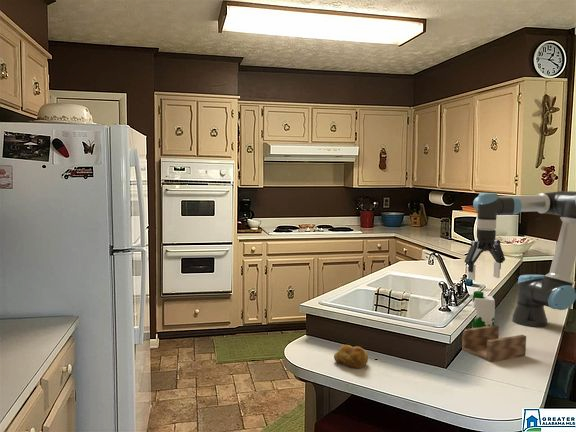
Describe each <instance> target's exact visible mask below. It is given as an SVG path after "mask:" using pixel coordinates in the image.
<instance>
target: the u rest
mask: <svg viewBox="0 0 576 432" xmlns="http://www.w3.org/2000/svg"><path fill="white" fill-rule="evenodd" d="M464 329H465V330H464V331H463V335H462V349H461V350H463V349H464V350H463V351H465V350H466V351H465V352H468V353H470V354H472V355H474V356H476V357H478V358H481V359H483V360H485V361H487V362H491V363H492V362H496V361H503V359H504V360H508V359H514V358H515V359H516V358H520V357H525V356H526V349H527V348H526V346H527V335H523V334H519V335H512V336H511V335H510V336H507V337H506V336H505V337H499V335H500V334H499V330H500V326H499V325H497V324H494V325H492V326H485V327H478V328H464Z"/></svg>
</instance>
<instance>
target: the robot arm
mask: <svg viewBox="0 0 576 432" xmlns="http://www.w3.org/2000/svg"><path fill="white" fill-rule="evenodd" d="M472 203H473V204H472V205H473V209H474V210H475V212H477V217H476V218H477V220H476V222H477V223H476V227H477V230H476V239H477V241H476V240H471V242H470V247H469V249H468V252H467V254H466V257H465V258H464V263H466V264H467V265H468V269H467V271H468V272H469V273H468V279H469V280H471V281H476V266H477V265H476V264H475V263H476V262H477V261H478V259H479V257H480V255H481V254H482V253H484V252H489V253H490V254H491V256H492V258H493V259H494V262H493V274H492V275H493V277H494V278H496V279H499V278H500V277H501V275H500V274H501V269H502V268H501V266H502V264H503V263H504V262H505V261H506V258H505V254H504V252H503V248H502V246H501V241H500V240H499V239H496V238H497V237H496V235H497V234H496V233H497V231H496V229H497V217H498V216H513V215H514V216H515V215H518V214H520V213H522V212H523V213H526V212H527V213H528V212H537V213H538V214H549V215H554V216H559V219H560V220H561V222H562V223H561V227H560V231H559V236H558V239H557V243H556V246H555V250H554V253H553V258H552V261H551V265H550V269H549V272H548V273H546V274H545V275H544V274H522V275H519V277H518V278H517V279H518V280H517V290H516V292H517V295H516V296H517V297H516V301H517V302H516V306H515V308H514V312H513V314H512V318H511V320H512V322H513V323H515V324H519V325H522V326H525V327H526V326H527V327H537V328H538V327H545V326H547V325H548V318H547V314H546V311H545V310H546V309H545V307H548V308H550V309H553V310H558V311H564V310H568V309H569V308H571V307H572V305H574V303H575V301H576V290H575V288H574V287H573V284H574V282H573V280H572V279H571V277H572V273H573V269H574V265H575V261H576V191H573V190H571V191H569V190H568V191H566V190H562V191H561V190H560V191H559V190H557V191H552V192H539V193H538V194H536V195H534V194H531V195H498V194H497V193H496V192H480V193H479V194H478V196H477V197H475V198H474V200H473V202H472Z"/></svg>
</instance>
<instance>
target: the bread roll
mask: <svg viewBox="0 0 576 432" xmlns="http://www.w3.org/2000/svg"><path fill="white" fill-rule="evenodd" d="M333 354H334V355H333V359H334V361H335V362H336V363H338V364H340V365H344V366H345V367H346V366H347V367H348V368H354V369H360V368H364V367H365V366H366V365H367V364H368V361H369V360H368V359H369V356H368V355H369V354H368V352H367V351H366V350H365V349H364V348H362V347H361V346H352V345H350V344H343V345H342V346H340V347H339V349H338V351H337V352H335V353H333Z"/></svg>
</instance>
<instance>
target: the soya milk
mask: <svg viewBox="0 0 576 432" xmlns="http://www.w3.org/2000/svg"><path fill="white" fill-rule="evenodd" d="M471 297H472V301H471V308H472V307H473V308H475V309H476V310H477V315H476V317H475V318H474V320H473V322H472V328H478V327H485V326H492V325H495V313H496V301H495V299H494V297H493V296H492V295H485V294H484V292H483V291H479V290H476V291H473V294H472V296H471Z"/></svg>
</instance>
